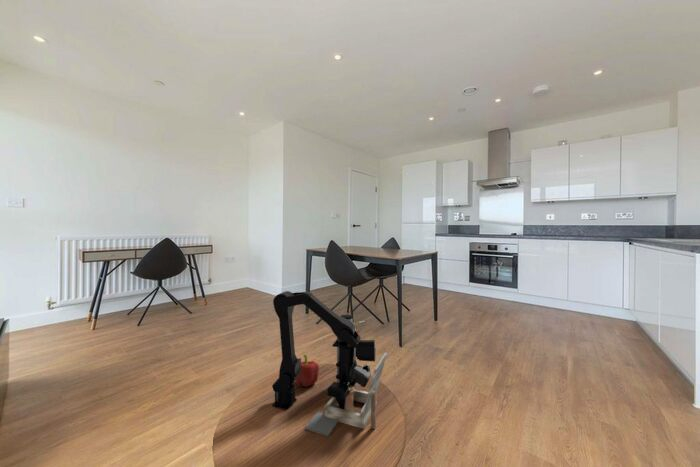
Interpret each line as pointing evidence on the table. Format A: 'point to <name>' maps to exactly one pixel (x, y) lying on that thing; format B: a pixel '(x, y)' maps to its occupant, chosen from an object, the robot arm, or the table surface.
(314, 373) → the vegetable
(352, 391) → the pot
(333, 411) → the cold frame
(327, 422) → the pad
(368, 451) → the table surface
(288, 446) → the table surface
